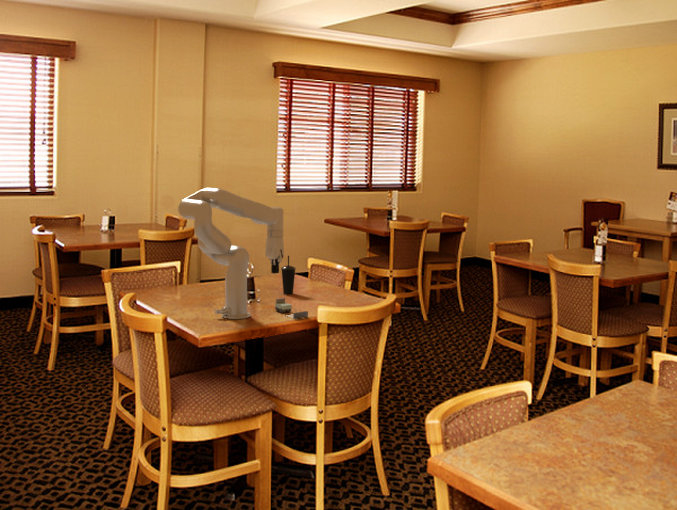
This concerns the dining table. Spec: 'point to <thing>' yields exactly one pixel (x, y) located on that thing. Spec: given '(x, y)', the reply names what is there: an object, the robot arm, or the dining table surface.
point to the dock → (298, 315)
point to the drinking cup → (288, 278)
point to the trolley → (282, 305)
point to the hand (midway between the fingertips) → (275, 272)
